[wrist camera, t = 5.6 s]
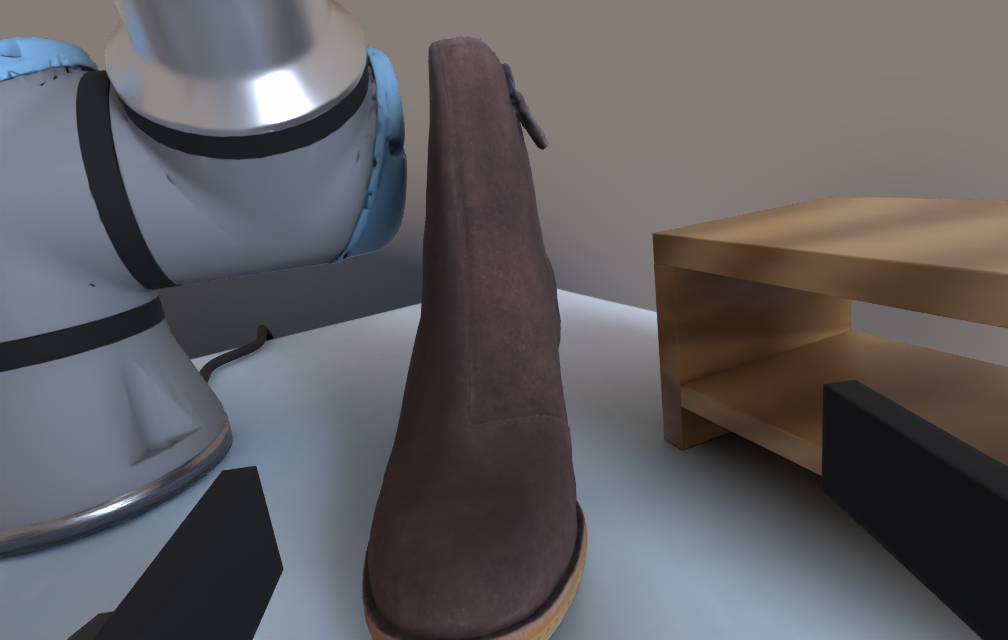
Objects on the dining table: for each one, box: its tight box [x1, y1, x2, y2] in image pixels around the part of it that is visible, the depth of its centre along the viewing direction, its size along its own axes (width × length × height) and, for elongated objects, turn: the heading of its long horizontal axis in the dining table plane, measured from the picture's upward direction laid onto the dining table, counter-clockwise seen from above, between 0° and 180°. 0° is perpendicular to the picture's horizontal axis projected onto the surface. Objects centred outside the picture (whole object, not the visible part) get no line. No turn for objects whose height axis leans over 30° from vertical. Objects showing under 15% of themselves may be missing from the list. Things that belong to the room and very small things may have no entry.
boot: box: [362, 37, 587, 640], centre depth 26 cm, size 9×24×20 cm, turn 175°
